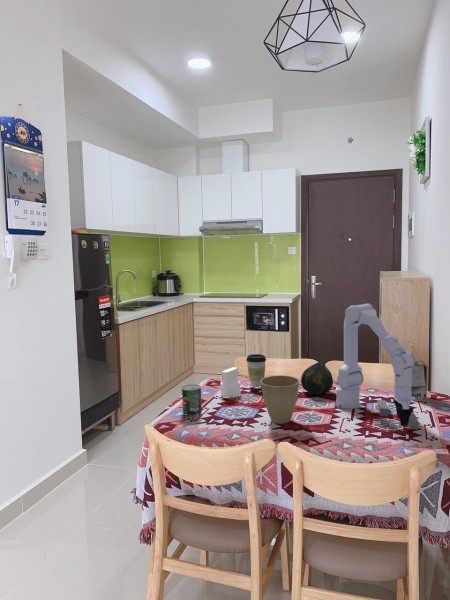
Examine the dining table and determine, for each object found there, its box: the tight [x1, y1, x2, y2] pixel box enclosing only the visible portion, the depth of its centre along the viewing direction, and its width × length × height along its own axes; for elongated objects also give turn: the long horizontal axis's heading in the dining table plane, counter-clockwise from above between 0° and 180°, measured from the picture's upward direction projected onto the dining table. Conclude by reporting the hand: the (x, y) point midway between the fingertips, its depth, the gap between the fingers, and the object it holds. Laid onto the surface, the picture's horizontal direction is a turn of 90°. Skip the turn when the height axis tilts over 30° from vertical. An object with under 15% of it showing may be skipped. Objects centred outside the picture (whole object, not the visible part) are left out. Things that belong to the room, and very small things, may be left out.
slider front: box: [407, 411, 419, 430], centre depth 167 cm, size 3×10×3 cm, turn 167°
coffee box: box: [411, 360, 428, 402], centre depth 195 cm, size 9×6×16 cm
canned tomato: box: [181, 384, 203, 416], centre depth 190 cm, size 8×8×11 cm
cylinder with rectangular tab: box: [220, 366, 241, 398], centre depth 211 cm, size 9×9×12 cm
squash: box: [300, 361, 334, 396], centre depth 211 cm, size 14×15×15 cm
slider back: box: [376, 399, 389, 417], centre depth 180 cm, size 3×10×3 cm, turn 167°
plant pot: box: [260, 374, 300, 425], centre depth 177 cm, size 15×15×16 cm
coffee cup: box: [245, 353, 267, 387], centre depth 224 cm, size 10×10×15 cm
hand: (402, 421), depth 167 cm, fingers open, 7 cm apart
